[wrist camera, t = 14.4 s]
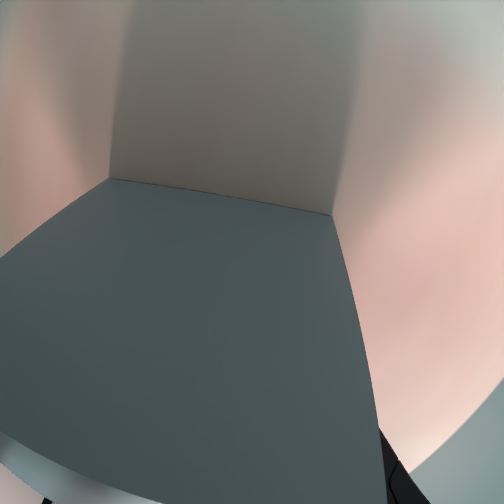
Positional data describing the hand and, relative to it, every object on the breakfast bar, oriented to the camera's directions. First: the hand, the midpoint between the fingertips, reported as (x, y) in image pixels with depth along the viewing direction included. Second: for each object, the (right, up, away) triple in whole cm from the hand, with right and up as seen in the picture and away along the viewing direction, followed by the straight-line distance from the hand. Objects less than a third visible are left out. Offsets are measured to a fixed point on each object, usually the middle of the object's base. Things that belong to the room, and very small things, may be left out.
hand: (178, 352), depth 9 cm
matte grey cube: (0, +2, +3) cm, 4 cm away
